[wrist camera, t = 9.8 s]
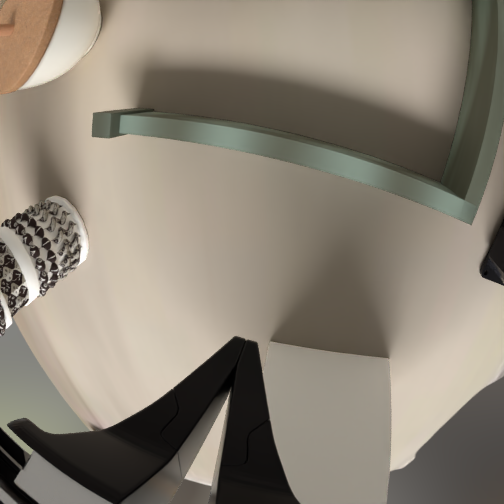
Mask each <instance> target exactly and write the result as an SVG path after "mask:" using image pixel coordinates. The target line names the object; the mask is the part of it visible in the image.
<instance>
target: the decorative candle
mask: <svg viewBox="0 0 504 504" xmlns="http://www.w3.org/2000/svg"><path fill="white" fill-rule="evenodd" d="M88 251H89V242H88V234H87V231H86V228H85V225H84V222H83V220H82V218H81V217H80V215H79V213H78V211H77V210H76V208H75V207H74V206H73V205H72V204H71V203H70V202H69V201H68V200H67V199H65V198H63V197H60V196H57V195H55V196H52V197H49V198H47V199H46V200H45V202H43V201H40V202H39V205H38V204H36V205H35V207H33V206H29V209H26V210H25V211H24V213H22V214H20V213H17V214H16V215H15V216H14V217H13V218H12V219H11V220H9V219H7V220H5V221H4V222H3V223H2V225H1V227H0V336H3V335H4V334H5V328H8V327H9V326H10V325H11V324H12V317H13V316H14V315H15V314H16V313H17V312H18V311H19V310H20V309H21V308H22V307H23V306H24V305H25V306H27V305H28V304H29V303H31V302H32V301H33V300H34V299H35V298H36V297H40V296H44V295H45V294H46V291H47V290H48V289H49V288H53V287H54V286H55V283H56V282H57V281H58V280H62V279H64V278H66V276H67V275H68V273H69V272H72V271H74V270H75V269H76V267H77V266H78V265H79V264H81V263H82V262H83V261H84V260H86V257H87V254H88ZM50 281H51V282H50Z"/></svg>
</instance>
